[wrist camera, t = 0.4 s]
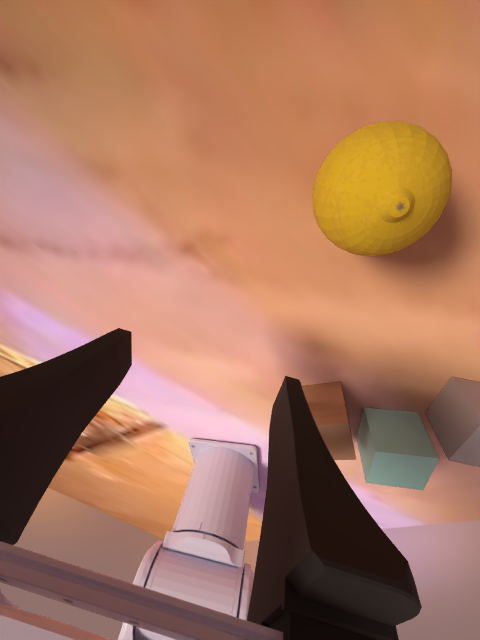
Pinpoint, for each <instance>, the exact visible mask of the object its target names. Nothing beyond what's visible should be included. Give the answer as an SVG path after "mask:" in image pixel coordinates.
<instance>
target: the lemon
mask: <svg viewBox="0 0 480 640" xmlns="http://www.w3.org/2000/svg"><path fill="white" fill-rule="evenodd" d="M451 180H452V169H451V166H450V162H449V158H448V155H447V153H446V151H445V150H444V148H443V147H442V145H441V144H440V142H439V141H438V140H437V138H436V137H434V136H433V135H431V134H430V133H429V132H427V131H426V130H424V129H423V128H422V127H420V126H416V125H413V124H409V123H405V122H401V121H393V122H379V123H375V124H372V125H369V126H366V127H362V128H360V129H359V130H357V131H355V132H354V133H352V134H351V135H349V136H347V137H346V138H344V139H343V140H342V141H341V142H340V143H339V144H338V145H337V146H336V147H335V148H334V149H333V150H332V151H331V152H330V153H329V155H328V156H327V158H326V159H325V161H324V162H323V163H322V165H321V167H320V170H319V172H318V175H317V177H316V179H315V184H314V189H313V195H312V198H313V212H314V215H315V218H316V221H317V224H318V226H319V227H320V229H321V230H322V232H323V233H324V235H325V236H326V237H327V238H328V239H329V240H330V241H331V242H332V243H334V244H335V245H336V246H337V247H339V248H341V249H343V250H346V251H348V252H350V253H353V254H358V255H364V256H378V255H386V254H389V253H393V252H396V251H399V250H402V249H404V248H405V247H407V246H409V245H411V244H413V243H415V242H416V241H417V240H419V239H420V238H421V237H422V236H424V235H425V234H426V233H427V232H428V231H429V230H430V229H431V228H432V226H433V225H434V224H435V223H436V222H437V221H438V219H439V217H440V216H441V214H442V212H443V210H444V208H445V207H446V205H447V201H448V198H449V194H450V191H451Z"/></svg>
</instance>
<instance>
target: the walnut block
mask: <svg viewBox="0 0 480 640" xmlns="http://www.w3.org/2000/svg"><path fill="white" fill-rule="evenodd" d="M302 389H303V392H304V395H305V397H306V400H307V403H308V406H309V408H310V411H311V413H312V416H313V418H314V420H315V423H316V425H317V427H318V430H319V432H320V434H321V436H322V438H323V440H324V442H325V444H326V446H327V448H328V450H329V452H330V454H331V456H332V457H333V459H334V460H355V459H356V456H355V451H354V445H353V440H352V435H351V430H350V425H349V420H348V414H347V410H346V405H345V400H344V396H343V391H342V386H341V382H332V383H323V384H314V385H306V386H302Z"/></svg>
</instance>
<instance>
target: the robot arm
mask: <svg viewBox="0 0 480 640" xmlns="http://www.w3.org/2000/svg"><path fill="white" fill-rule="evenodd" d="M131 365H132V352H131V332H130V331H127V330H123V329H120V328H118V329H116V330H114V331H111V332H109V333H107V334H105V335H103V336H101V337H99V338H97V339H95V340H93V341H91V342H89V343H87V344H85V345H82V346H80V347H78V348H76V349H74V350H72V351H69V352H67V353H65V354H62V355H60V356H58V357H55V358H53V359H51V360H48V361H46V362H43V363H41V364H38V365H35V366H32V367H30V368H27V369H24V370H21V371H18V372H15V373H12V374H8V375H5V376H1V377H0V582H2V583H5V584H8V585H11V586H14V587H17V588H20V589H23V590H26V591H29V592H32V593H35V594H38V595H42V596H45V597H48V598H51V599H54V600H57V601H60V602H63V603H66V604H69V605H72V606H75V607H78V608H81V609H84V610H87V611H90V612H93V613H96V614H100V615H103V616H105V617H109V618H112V619H115V620H118V621H121V622H123V625H122V629H121V632H120V635H119V639H118V640H399V639H398V635H397V630H396V625H398V624H400V623H403V622H405V621H407V620H410V619H412V618H414V617H415V616H417V615H418V614H419V612H420V610H421V604H420V600H419V596H418V593H417V589H416V585H415V582H414V578H413V575H412V573H411V570H410V567H409V564H408V561H407V560H406V559H405V557H404V556H403V555H402V554H401V552H400V551H399V550H398V549H397V548H396V546H395V545H394V544H393V543H392V542H391V540H390V539H389V538H388V537H387V536H386V534H385V533H384V532H383V531H382V530H381V528H380V527H379V526H378V525H377V523H376V522H375V521H374V519H373V518H372V517H371V515H370V514H369V513H368V511H367V510H366V509H365V507H364V506H363V505H362V503H361V502H360V500H359V499H358V497H357V496H356V494H355V493H354V491H353V490H352V488H351V487H350V485H349V484H348V482H347V481H346V479H345V478H344V476H343V474H342V473H341V471H340V470H339V468H338V466H337V464H336V463H335V461H334V459H333V457H332V456H331V454H330V452H329V450H328V448H327V446H326V444H325V442H324V440H323V438H322V436H321V434H320V432H319V430H318V427H317V425H316V423H315V420H314V418H313V416H312V413H311V411H310V408H309V406H308V403H307V400H306V397H305V395H304V392H303V389H302V386H301V382H300V381H299V380H298V379H295V378H291V377H288V376H285V378H284V381H283V383H282V386H281V388H280V390H279V393H278V395H277V397H276V400H275V402H274V405H273V408H272V415H271V421H270V429H269V452H268V478H267V491H266V498H265V506H264V514H263V521H262V528H261V535H260V542H259V548H258V555H257V562H256V568H255V574H254V572H253V570H252V569H251V565H250V564H247V563H245V564H244V568H243V562H244V554H245V551H244V542H245V535H246V527H247V520H248V512H249V505H250V498H251V493H255V494H257V493H259V478H258V461H257V448H256V447H255V446H253V445H244V444H236V443H227V442H219V441H211V440H202V439H194V438H192V439H190V441H189V445H190V449H191V453H192V457H193V461H194V465H193V468H192V472H191V475H190V478H189V481H188V484H187V487H186V490H185V493H184V496H183V499H182V502H181V505H180V508H179V511H178V514H177V517H176V520H175V523H174V526H173V529H172V532H171V531H167V533H166V536H165V539H164V542H161V541H158V542H156V543H155V544H154V545H153V546H152V547H151V548H150V549H149V550H148V551H147V553H146V555H145V556H144V558H143V560H142V562H141V564H140V566H139V569H138V571H137V574H136V576H135V579H134V582H133V584H131V583H128V582H125V581H122V580H119V579H116V578H112V577H110V576H106V575H103V574H100V573H97V572H94V571H91V570H88V569H84V568H82V567H79V566H75V565H72V564H69V563H66V562H63V561H60V560H57V559H53V558H51V557H47V556H44V555H41V554H38V553H35V552H32V551H29V550H26V549H23V548H19V547H16V546H13V545H14V544H15V543H17V541H18V540H19V538H20V536H21V534H22V532H23V530H24V528H25V526H26V525H27V523H28V521H29V519H30V517H31V516H32V514H33V512H34V510H35V508H36V507H37V505H38V503H39V501H40V499H41V498H42V496H43V494H44V493H45V491H46V489H47V488H48V486H49V484H50V482H51V481H52V479H53V477H54V476H55V474H56V472H57V471H58V469H59V468H60V466H61V464H62V463H63V461H64V460H65V458H66V456H67V455H68V453H69V452H70V450H71V449H72V447H73V446H74V444H75V442H76V441H77V439H78V438H79V436H80V435H81V433H82V432H83V431H84V429H85V428H86V427H87V425H88V424H89V423H90V421H91V420H92V419H93V418H94V416H95V415H96V414H97V413H98V411H99V410H100V409H101V408H102V406H103V405H104V404H105V403H106V401H107V400H108V399H109V398H110V396H111V395H112V394H113V392H114V391H115V390H116V389H117V387H118V386H119V385H120V383H121V382H122V380H123V379H124V377H125V375H126V374H127V372H128V370H129V369H130V367H131ZM242 569H243V574H242ZM0 640H110V639H108V638H105V637H103V636H100V635H97V634H94V633H91V632H89V631H86V630H83V629H80V628H77V627H75V626H72V625H68V624H65V623H62V622H59V621H56V620H53V619H50V618H47V617H44V616H41V615H37V614H34V613H31V612H27V611H24V610H21V609H18V606H17V605H15V604H14V603H13V602H11V601H10V600H8V599H7V598H6V597H5V596H4V595H3V594H2V593H1V590H0Z"/></svg>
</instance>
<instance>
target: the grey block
mask: <svg viewBox="0 0 480 640" xmlns="http://www.w3.org/2000/svg"><path fill="white" fill-rule="evenodd" d="M425 414H426V416H427V418H428V420H429V422H430V424H431V426H432V428H433V430H434V432H435V434H436V436H437V438H438V440H439V442H440V444H441V446H442V448H443V450H444V452H445V454H446V456H447V458H448V460H450V461H455V462H459V463H464V464H469V465H473V466H478V467H480V382H477V381H472V380H467V379H461V378H456V377H451V378H450V379H449V381H448V382H447V383H446V385H445V386H444V388H443V389H442V390H441V392H440V393H439V395H438V396H437V397H436V399H435V400H434V402H433V403H432V404H431V406H430V407H429V409H428V410H427V412H426V413H425Z"/></svg>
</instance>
